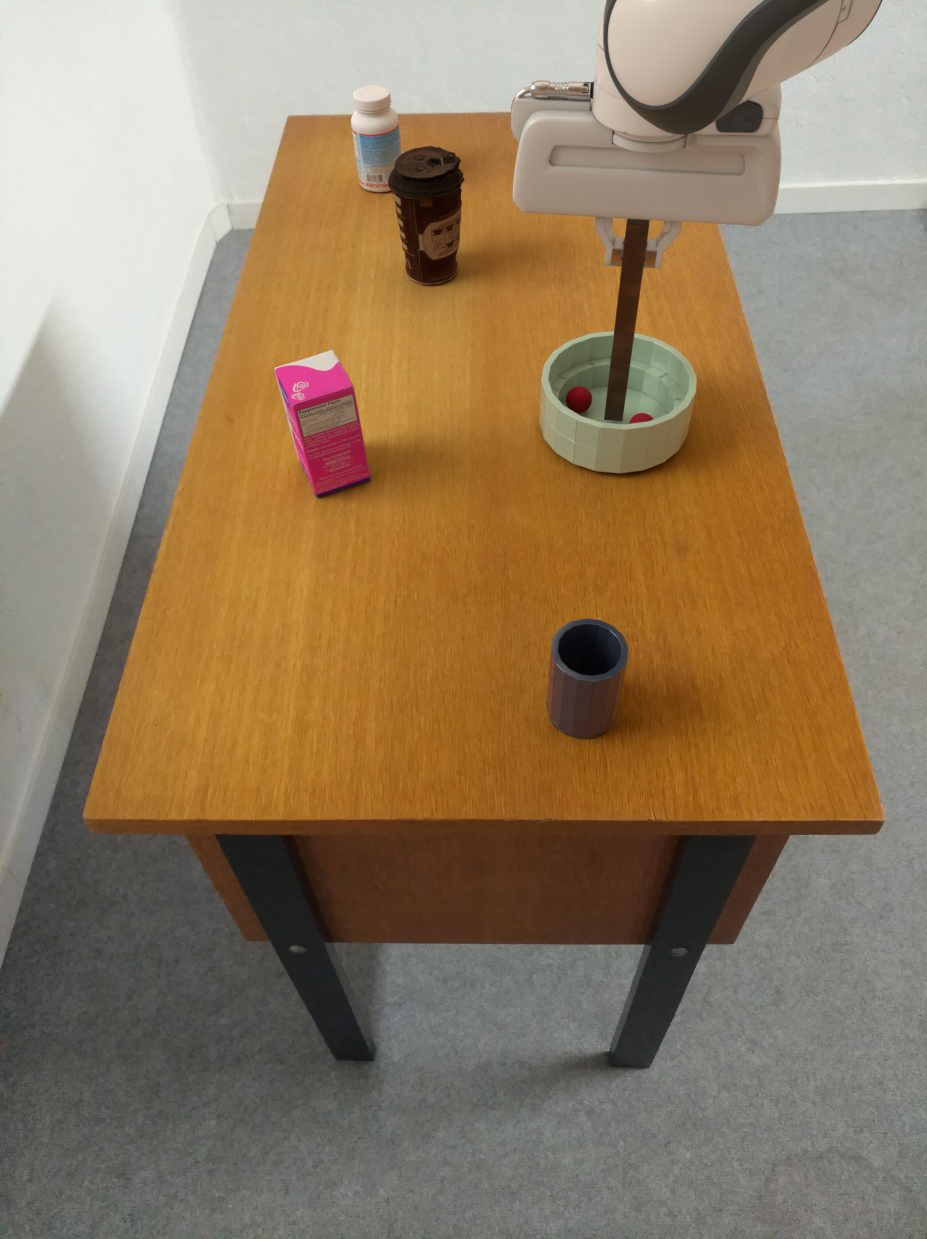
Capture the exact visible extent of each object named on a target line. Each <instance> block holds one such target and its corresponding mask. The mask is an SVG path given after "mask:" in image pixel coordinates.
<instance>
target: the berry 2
mask: <svg viewBox="0 0 927 1239" xmlns="http://www.w3.org/2000/svg"><path fill="white" fill-rule="evenodd" d="M651 420H654V419H653V417H652V416H650V415H649V414H646V413H639V414H636V415H634V416H633V417H632V418H631V419H630V421H629V424H632V423H640V422H648V421H651Z"/></svg>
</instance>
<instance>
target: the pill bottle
mask: <svg viewBox="0 0 927 1239" xmlns="http://www.w3.org/2000/svg"><path fill="white" fill-rule="evenodd" d="M352 99H353V106H354V109H355V110H354V112H353V114H352V115H351V119H350V126H351V133H352V140H353V147H354V156H355V163H356V170H357V176H358V177H357V178H358V183H359V185H360V187H361V188H363V189H364V190H366V191H368V192H373V193H386V192H392V191H391V189H390V188H389V186H388V179H389V176H390V173H391V172H392V170H393V169H394V165H395V161H396V159H397V158H398V157H399V156H400V155H401V154H403V151H402V143H401V133H400V132H401V131H400V121H399V116H398V113H397V112H396V110H395V109H394V108H392V107H391V106H392V98H391V91H390V89H389V88H388V87H386V86H383V85H377V84H370V85H363V86H361V87H359V88H357V89H356V90H355V91H354V92H353V93H352ZM359 179H360V180H359ZM360 181H361V182H360ZM362 182H363V183H364V184H363V183H362ZM365 184H367V185H365ZM368 185H369V186H368ZM373 186H376V187H373ZM379 186H383V187H379Z"/></svg>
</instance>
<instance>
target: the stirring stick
mask: <svg viewBox="0 0 927 1239" xmlns="http://www.w3.org/2000/svg"><path fill="white" fill-rule="evenodd" d="M650 222H651V220H642V219H626V226H625V234H624V237H625V241H624V251H623V258H622V266H620V276H619V277H620V278H619V285H618V295H617V304H616V310H615V318H614V328H613V331H614V336H613V345H612V354H611V362H610V371H609V380H608V388H607V397H606V406H605V414H604V420H611V421H623V414H624V406H625V399H626V392H627V385H628V377H629V370H630V363H631V355H632V348H633V341H634V333H636V325H637V318H638V311H639V303H640V297H641V290H642V282H643V274H644V269H645V268H644V260H645V252H646V246H647V239H649V230H650Z"/></svg>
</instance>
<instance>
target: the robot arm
mask: <svg viewBox="0 0 927 1239" xmlns="http://www.w3.org/2000/svg"><path fill="white" fill-rule="evenodd" d="M883 1H884V0H605V4H604V8H603V13H602V15H601V19H600V21H599V25H598V29H597V35H596V46H595V48H596V49H595V58H594V59H595V60H594V74H593V81H564V82H563V81H562V82H553V81H552V82H551V81H550V80H544V79H543V80H534V81H532V82H531V85H530V86H526V87H523V88H522V89H521V90H519V91H518V92H517V93H516V94H515V96H514V97H513V99H512V102H511V105H510V106H511V107H510V129H511V130H510V131H511V134H512V136H513V137H514V139H515V140H516V142H517V143H518V147H517V153H516V158H515V163H514V164H515V165H514V172H513V182H512V201H513V203H514V204H515V205H516V207H517V208H518V210H519V211H520V212H522V213H524V214H535V215H536V214H537V215H553V216H554V215H555V216H574V217H591V218H595V219H594V230H595V232H596V234H597V236H598V238H599V239H600V241H601V243H602V245H603V247H604V248H605V255H604V256H605V257H604V266H606V267H608V266H609V267H610V266H611V267H622V258H623V251H624V241H625V236H616V234H615V232H614V229H613V221H614V219H626V220H627V219H642V220H650V221H659V222H660V221H662V222H663V225H662V230H661V232H660V233H659V234H658V235H657V237H656V238H647V246H646V252H645V260H644V268H643V269H657V270H658V269H659V270H660V269H661V268H662V263H663V256H664V252H666V251H667V249H668V248H669V247H670V246H671V245H672V244H673V243H674V242H675V240H676V239H677V238H678V236H679V235H681V231H682V226H683V225H682V224H683V223H697V224H715V225H731V226H732V225H734V226H748V227H749V226H751V227H758V226H762V225H763V224H764V223H766V222H767V221H768V220H769V219H771V217H772V216H773V215H774V213H775V210H776V205H777V202H778V196H779V189H780V183H781V174H782V173H781V171H782V140H781V132H780V131H781V130H780V125H779V118H780V115H781V110H782V103H783V102H782V99H783V97H782V96H783V95H782V94H783V93H782V86H781V83H784V82H786V81H788V80H790V79H791V78H793V77H795V76H796V75H799V74H801V73H803V72H804V71H806V70H808V69H810V68H812V67H815V66H816V65H818V64H819V63H821V62H823V61H825V60H827V59H829V58H831V57H832V56H834V55H835V54H836V53H838V52H840V51H841V50H843V49H844V48H846V47H847V46H850V44H852V43H853V42H855V41H856V40H857V39H858V38H859V37H860V36H861V35H862V34H863V33H864V32H865V31H866V30H867V29H868V27H869V26H870V25H871V23H872V21H873V20H874V18H876V15H877V13H878V12H879V9H880V7H881V6H882V3H883ZM527 94H530V95H527Z"/></svg>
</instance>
